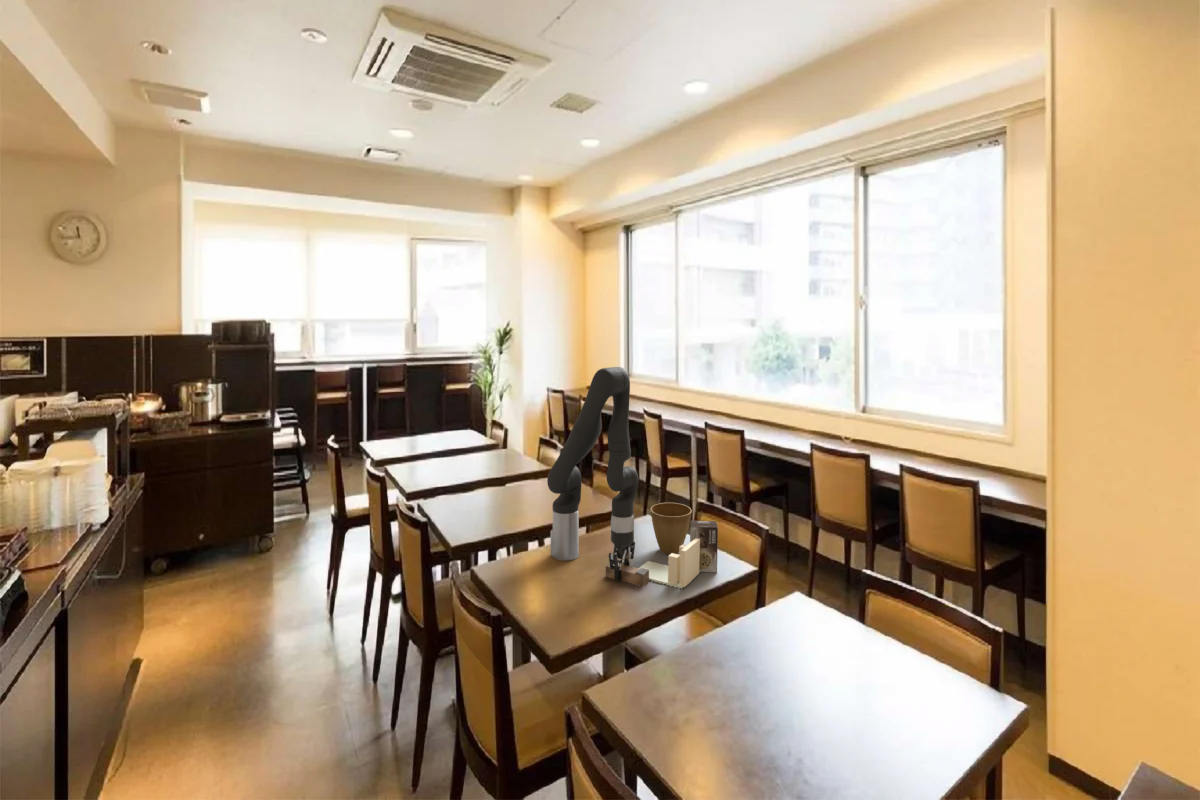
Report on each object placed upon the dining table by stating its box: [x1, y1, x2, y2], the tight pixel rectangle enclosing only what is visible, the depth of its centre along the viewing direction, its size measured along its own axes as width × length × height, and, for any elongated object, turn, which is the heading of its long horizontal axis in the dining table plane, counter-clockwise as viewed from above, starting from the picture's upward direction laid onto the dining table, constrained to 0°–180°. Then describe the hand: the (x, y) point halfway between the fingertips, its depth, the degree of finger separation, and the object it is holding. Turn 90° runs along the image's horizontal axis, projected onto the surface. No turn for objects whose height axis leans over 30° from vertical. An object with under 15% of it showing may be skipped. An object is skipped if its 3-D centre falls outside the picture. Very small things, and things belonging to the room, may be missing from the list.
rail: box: [605, 562, 650, 587], centre depth 196 cm, size 14×4×4 cm, turn 59°
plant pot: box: [650, 502, 693, 555], centre depth 218 cm, size 15×15×16 cm
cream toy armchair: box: [637, 538, 700, 590], centre depth 198 cm, size 19×12×13 cm, turn 59°
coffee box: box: [689, 520, 719, 573], centre depth 203 cm, size 9×6×16 cm
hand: (622, 576), depth 197 cm, fingers open, 5 cm apart
